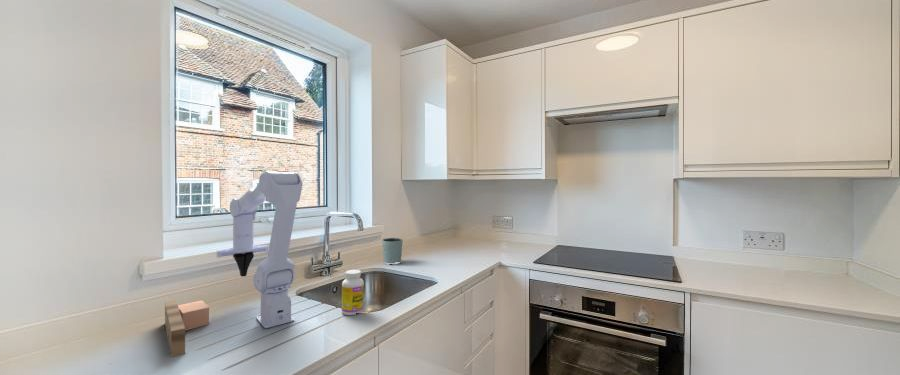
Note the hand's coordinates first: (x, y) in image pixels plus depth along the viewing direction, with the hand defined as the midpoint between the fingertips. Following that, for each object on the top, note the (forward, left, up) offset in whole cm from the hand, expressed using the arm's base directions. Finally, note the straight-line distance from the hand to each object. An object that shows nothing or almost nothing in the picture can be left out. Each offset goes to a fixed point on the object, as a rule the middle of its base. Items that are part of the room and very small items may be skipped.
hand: (243, 275), depth 111 cm
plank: (-15, +19, -9) cm, 26 cm away
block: (-8, +14, -10) cm, 19 cm away
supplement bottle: (-30, -24, -10) cm, 40 cm away
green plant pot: (+14, -68, -10) cm, 70 cm away
